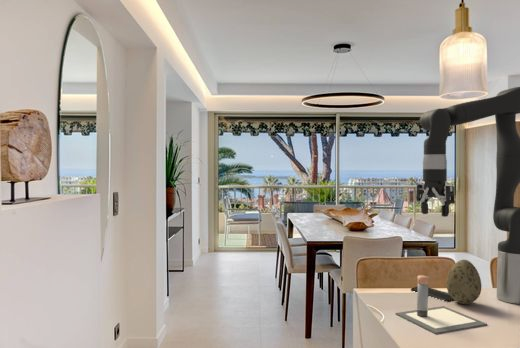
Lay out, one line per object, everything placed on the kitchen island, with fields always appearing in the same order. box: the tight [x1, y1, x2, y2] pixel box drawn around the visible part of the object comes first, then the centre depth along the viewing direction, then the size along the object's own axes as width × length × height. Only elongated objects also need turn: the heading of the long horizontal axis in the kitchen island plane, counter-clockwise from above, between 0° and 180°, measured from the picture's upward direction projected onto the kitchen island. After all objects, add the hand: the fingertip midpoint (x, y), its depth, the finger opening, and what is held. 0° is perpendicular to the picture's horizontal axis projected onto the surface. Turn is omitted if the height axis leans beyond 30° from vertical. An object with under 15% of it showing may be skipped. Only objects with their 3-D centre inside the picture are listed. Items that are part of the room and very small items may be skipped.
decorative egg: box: [445, 259, 482, 305], centre depth 136 cm, size 11×11×15 cm
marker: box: [416, 274, 430, 317], centre depth 121 cm, size 3×3×12 cm
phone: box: [410, 286, 455, 302], centre depth 145 cm, size 8×1×15 cm
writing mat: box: [395, 305, 488, 335], centre depth 120 cm, size 20×16×1 cm
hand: (434, 215), depth 136 cm, fingers open, 8 cm apart
